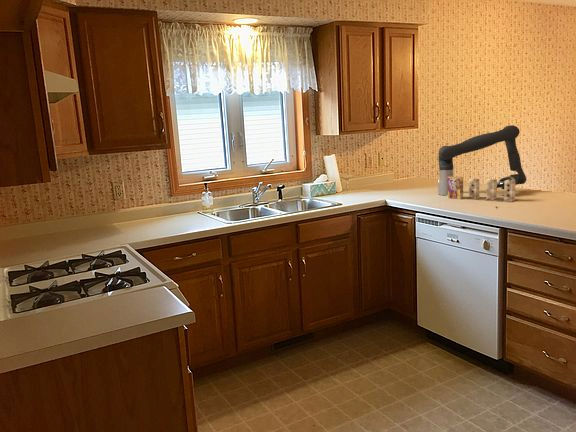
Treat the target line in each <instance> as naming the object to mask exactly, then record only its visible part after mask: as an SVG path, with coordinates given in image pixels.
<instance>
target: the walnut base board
mask: <svg viewBox="0 0 576 432" xmlns="http://www.w3.org/2000/svg"><path fill="white" fill-rule="evenodd" d="M464 200H472V201H473V200H474V201H488V202H498V203H499V202H501V203H515V202H517V201H518V202H519V199H516V198H515V200H514V201H504V198H499V197H498V198H497V199H494V200H490V199H486V196H479V198H477V199H472V198H469V197H466V198H464Z"/></svg>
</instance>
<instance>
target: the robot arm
mask: <svg viewBox="0 0 576 432" xmlns="http://www.w3.org/2000/svg"><path fill="white" fill-rule="evenodd" d="M518 136H520V128H519V127H518V126H517V125H511V124H510V125H506V126H504V128H502V129H499V130H497V131H493V132H487V133H483V134H479V135H476V136H473V137H470V138H468V139H466V140H464V141H462V142H460V143H456V144H453V145H443V146H441V147H440V148H439V149H438V173H439V174H438V175H439V176H438V177H439V178H438V181H437V189H438V191H437V194H438V195H440V196H448V177H450V176H453V177H455V175H454V162H453V161H454V158H456V157H458V156H460V155H464V154H467V153H468V154H469V153H473V152H477V151H479V150H483V149H486V148H489V147H491V146H493V145H496V144H498V143H502V142H504V143H505V148H506V153H507V159H508V165H509V170H510V171H511V172H517V173H515V174H510V175H509V176H505V177H502V178H500V179H499V180H498V181H497V189H502V190H504V184H505V181H506V180H515V186H516V185H523V184H526V182H527V176H526V174H525V172H524V169H523V167H522V163H521V162H522V160H521V156H520V153H519V150H518V147H517V141H516V140H517V138H518Z"/></svg>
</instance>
